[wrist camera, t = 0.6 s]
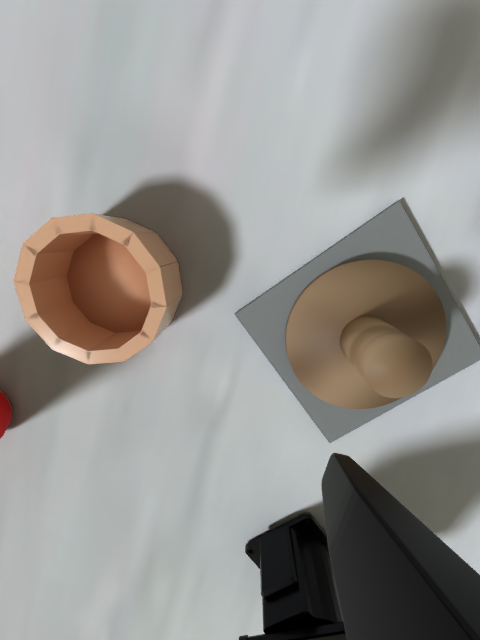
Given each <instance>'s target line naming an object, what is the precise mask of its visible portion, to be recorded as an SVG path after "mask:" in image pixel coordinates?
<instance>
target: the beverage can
mask: <svg viewBox="0 0 480 640" xmlns="http://www.w3.org/2000/svg"><path fill="white" fill-rule="evenodd" d="M12 417H13V409H12V405H11V402H10V400H9V399H8V397H7V396H6V395H5V394H4V393H3V392H2V391H1V390H0V438H1V437H2V436H3V435H4V433H5V430H6V428H7V426H8V425H9V424H10V422H11V420H12Z"/></svg>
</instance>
